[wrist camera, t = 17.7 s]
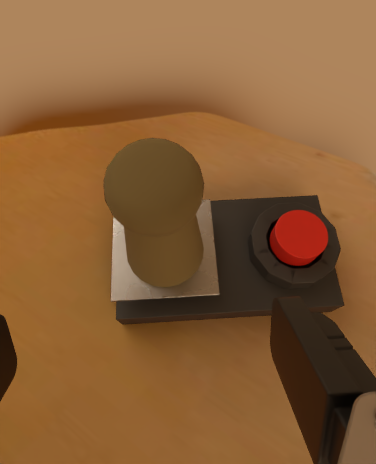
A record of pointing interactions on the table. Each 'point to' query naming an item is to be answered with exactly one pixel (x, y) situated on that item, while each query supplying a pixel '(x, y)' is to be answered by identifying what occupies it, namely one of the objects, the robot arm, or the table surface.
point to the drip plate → (199, 284)
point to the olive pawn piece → (157, 209)
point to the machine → (250, 268)
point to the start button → (298, 237)
